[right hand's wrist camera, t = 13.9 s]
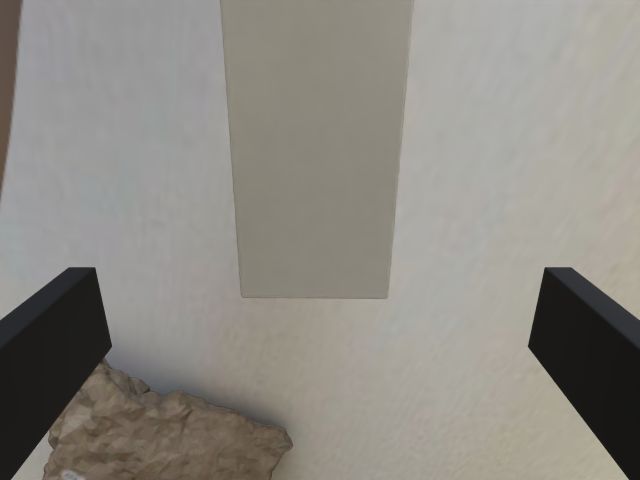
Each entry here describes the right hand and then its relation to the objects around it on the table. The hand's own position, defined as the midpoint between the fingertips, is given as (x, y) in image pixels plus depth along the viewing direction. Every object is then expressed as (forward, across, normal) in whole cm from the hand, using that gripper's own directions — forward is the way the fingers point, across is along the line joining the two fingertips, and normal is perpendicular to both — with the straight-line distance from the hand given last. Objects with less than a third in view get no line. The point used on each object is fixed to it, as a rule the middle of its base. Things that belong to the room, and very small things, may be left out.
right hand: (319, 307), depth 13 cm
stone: (+20, +14, +25) cm, 35 cm away
